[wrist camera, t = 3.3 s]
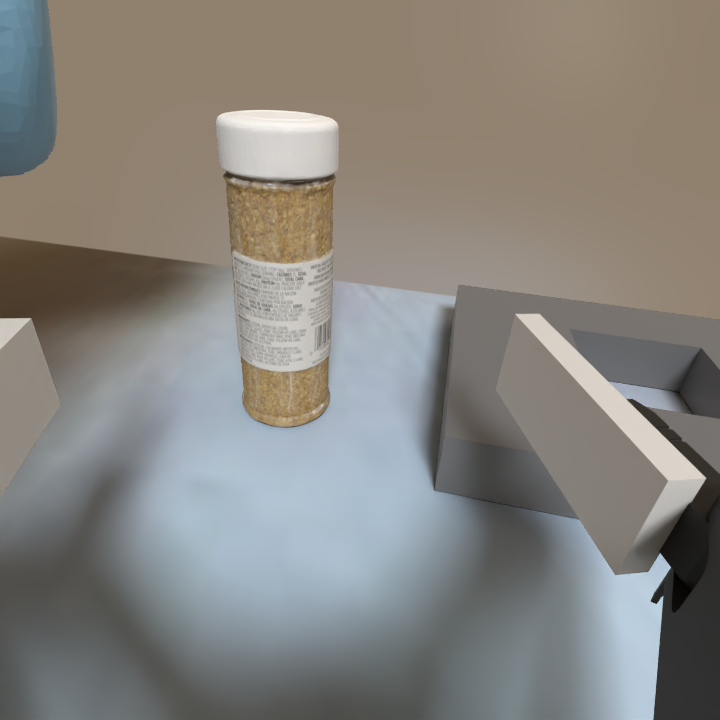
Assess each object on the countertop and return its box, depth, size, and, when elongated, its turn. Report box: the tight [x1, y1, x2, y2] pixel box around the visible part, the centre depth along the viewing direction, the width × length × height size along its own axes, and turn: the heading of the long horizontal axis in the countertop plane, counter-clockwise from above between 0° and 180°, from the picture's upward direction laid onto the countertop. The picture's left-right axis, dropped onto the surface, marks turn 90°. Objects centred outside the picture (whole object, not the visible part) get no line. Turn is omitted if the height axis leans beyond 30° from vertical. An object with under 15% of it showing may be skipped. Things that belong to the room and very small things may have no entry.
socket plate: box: [435, 285, 720, 519], centre depth 24 cm, size 20×16×4 cm
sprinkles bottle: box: [216, 110, 339, 427], centre depth 21 cm, size 5×5×14 cm
